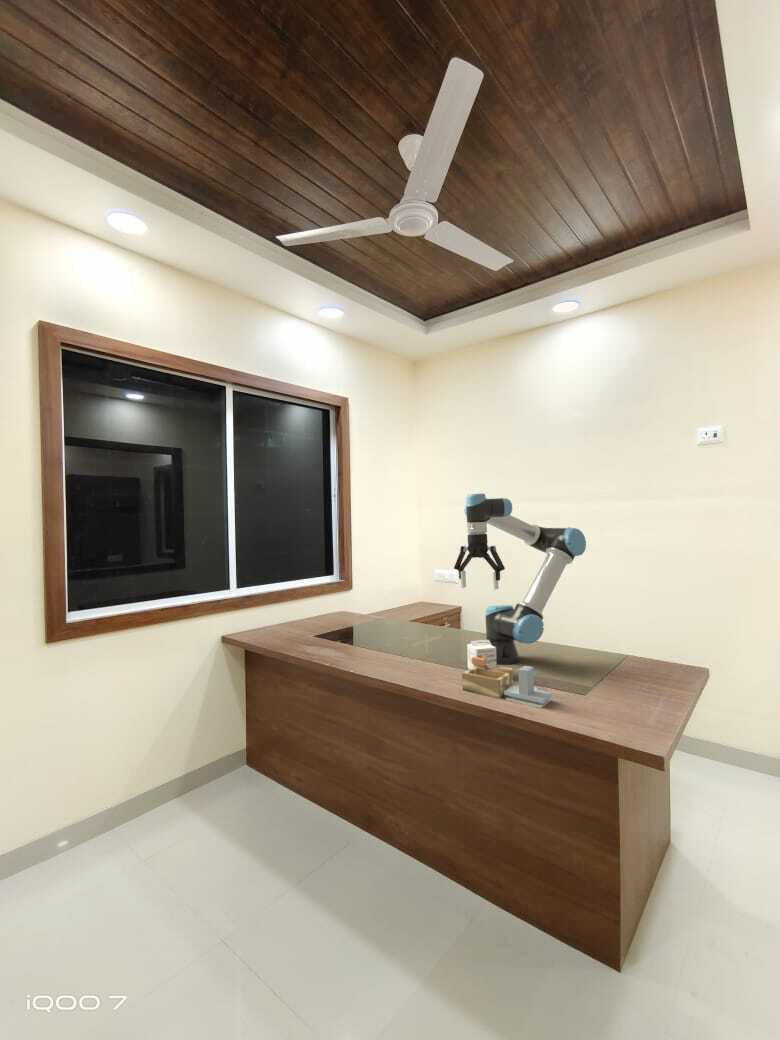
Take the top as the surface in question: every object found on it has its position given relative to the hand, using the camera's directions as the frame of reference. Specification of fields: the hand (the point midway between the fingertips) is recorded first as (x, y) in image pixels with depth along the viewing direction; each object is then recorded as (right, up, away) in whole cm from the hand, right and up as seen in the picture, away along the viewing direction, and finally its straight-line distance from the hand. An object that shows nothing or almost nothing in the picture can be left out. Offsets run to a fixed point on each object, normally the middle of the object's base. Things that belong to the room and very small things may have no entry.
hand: (479, 588), depth 185 cm
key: (-2, -26, -10) cm, 28 cm away
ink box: (+1, -34, -1) cm, 34 cm away
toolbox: (0, -33, -16) cm, 37 cm away
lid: (+11, -32, -26) cm, 43 cm away
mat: (+11, -33, -27) cm, 44 cm away
